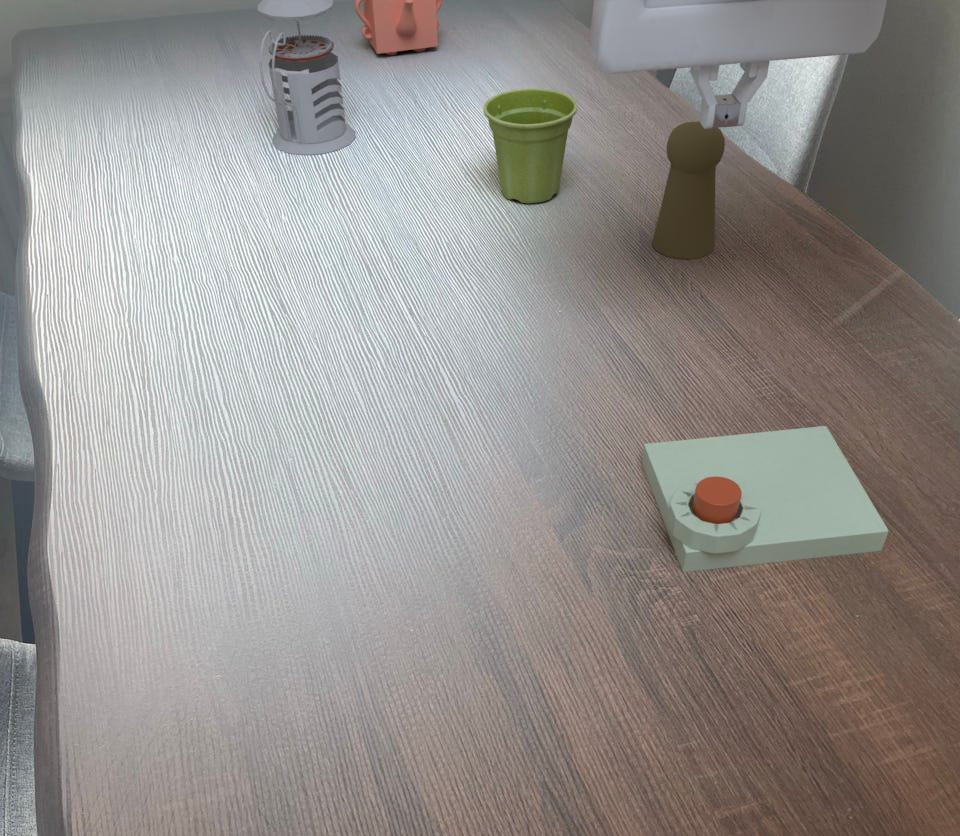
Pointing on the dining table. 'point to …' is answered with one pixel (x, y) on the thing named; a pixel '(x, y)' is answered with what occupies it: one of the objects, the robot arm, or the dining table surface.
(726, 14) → the robot arm
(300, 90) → the french press
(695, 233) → the cork
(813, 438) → the red button base
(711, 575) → the dining table surface
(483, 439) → the dining table surface
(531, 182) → the plant pot
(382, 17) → the teapot
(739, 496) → the red push button
